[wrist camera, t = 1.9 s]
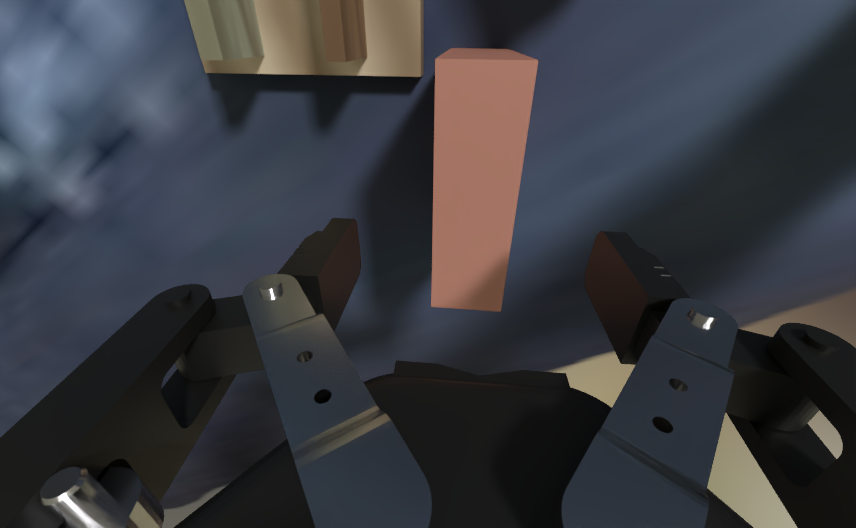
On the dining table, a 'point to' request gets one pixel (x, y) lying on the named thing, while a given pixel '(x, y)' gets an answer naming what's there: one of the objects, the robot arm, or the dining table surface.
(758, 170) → the dining table surface
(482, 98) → the tall salmon pink block
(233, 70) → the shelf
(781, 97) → the dining table surface
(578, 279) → the dining table surface
